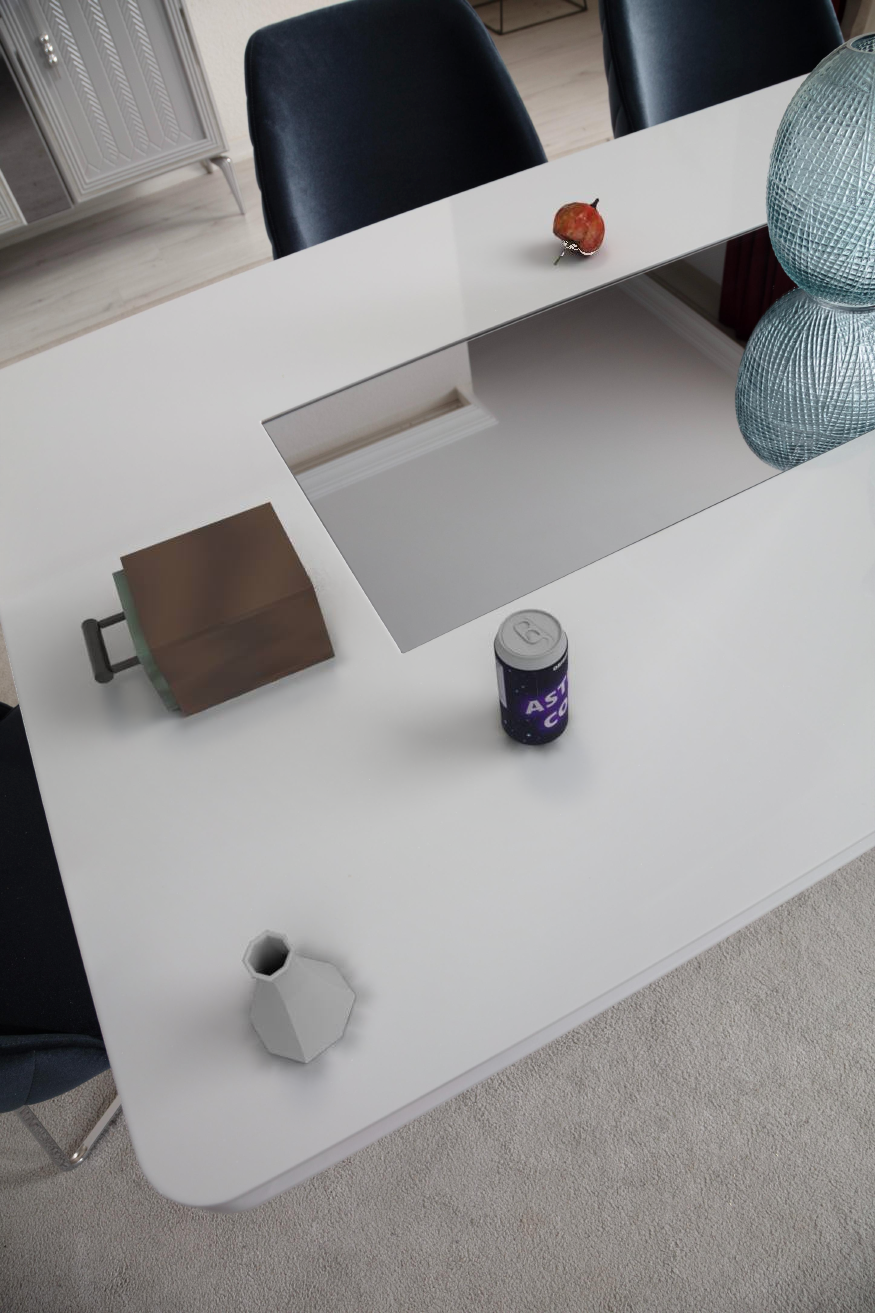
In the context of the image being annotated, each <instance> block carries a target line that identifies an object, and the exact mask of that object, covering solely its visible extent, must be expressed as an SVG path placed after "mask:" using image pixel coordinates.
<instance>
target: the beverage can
mask: <svg viewBox="0 0 875 1313" xmlns="http://www.w3.org/2000/svg"><path fill="white" fill-rule="evenodd" d="M493 651H494V661H495V672H496V682H497V691H498V702H499V703H498V704H499V711H500V712H499V713H500V721H501V726H502V729H503V730H504V732H505V733H506V734H507V736H509V737H510V738H511V739H512V740H514V741H515V742H517V743H519V744H522V745H528V746H542V745H546V744H549V743H551V742H553V741H555V740H557V739H558V738H560V737H561V736H562V734H564V732H565V730H566V728H567V726H568V723H569V638H568V635H567V633H566V631H565V630H564V629H563V626H562V624H561V622H560V621H559V620H558V618H557V617H556V616H555V615H553V614H552V613H550V612H548V611H545V610H542V609H539V608H525V609H520V610H517V611H515V612H512V613H511V614H509V615H507V616H506V617H505V618H504V619H503V620H502V622H501V623H500V625H499V627H498V630H497V633H496V635H495V637H494V640H493Z"/></svg>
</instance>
